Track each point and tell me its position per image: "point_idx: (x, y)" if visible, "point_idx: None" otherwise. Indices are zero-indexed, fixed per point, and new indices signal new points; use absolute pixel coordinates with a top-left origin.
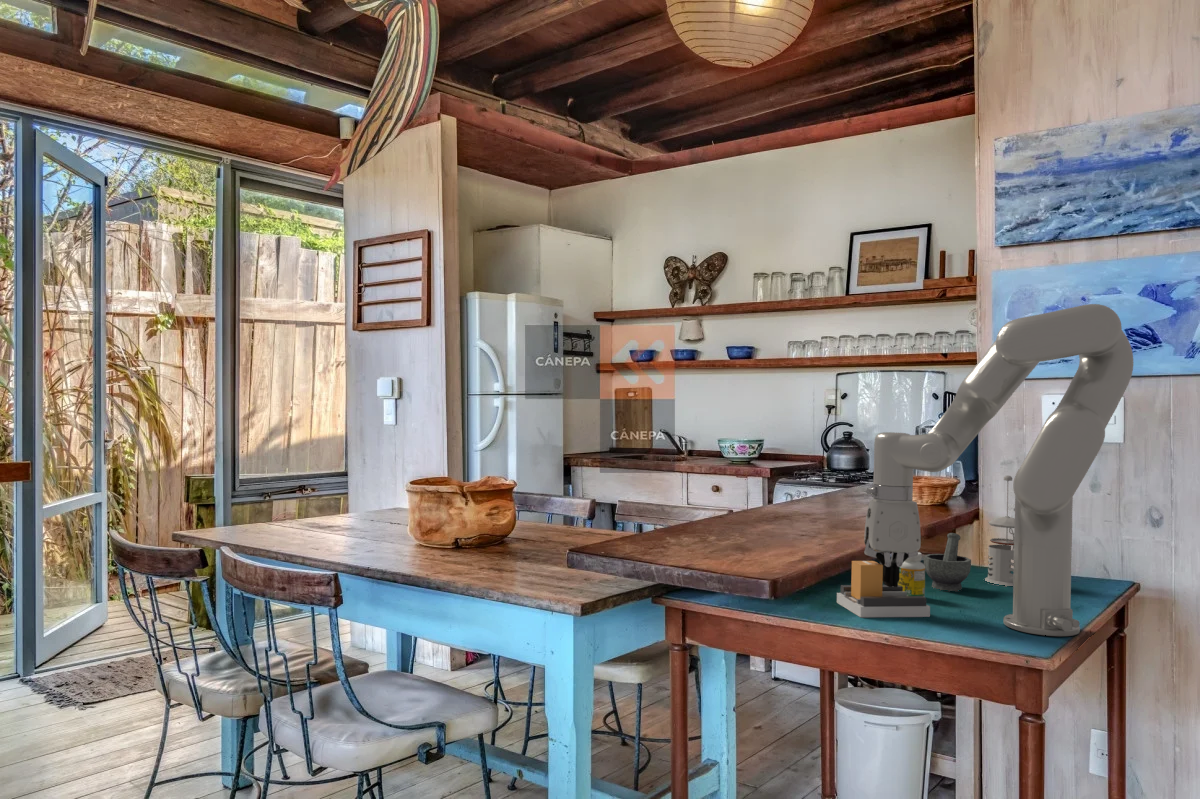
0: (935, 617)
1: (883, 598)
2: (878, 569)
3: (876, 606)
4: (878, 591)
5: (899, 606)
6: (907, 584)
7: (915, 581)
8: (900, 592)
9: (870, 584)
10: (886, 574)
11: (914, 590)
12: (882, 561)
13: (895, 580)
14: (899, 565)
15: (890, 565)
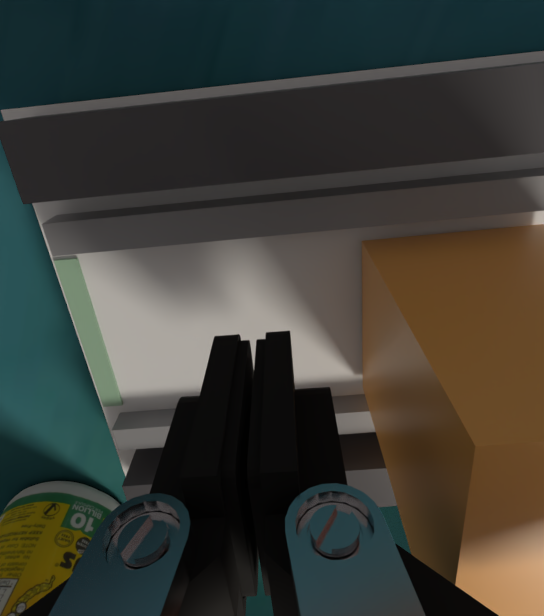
0: (3, 91)
1: (445, 73)
2: (517, 392)
3: (487, 64)
4: (414, 265)
5: (272, 88)
6: (71, 561)
7: (12, 574)
8: (157, 425)
9: (528, 283)
10: (322, 428)
11: (44, 522)
12: (420, 576)
13: (231, 363)
14: (145, 519)
15: (293, 502)
